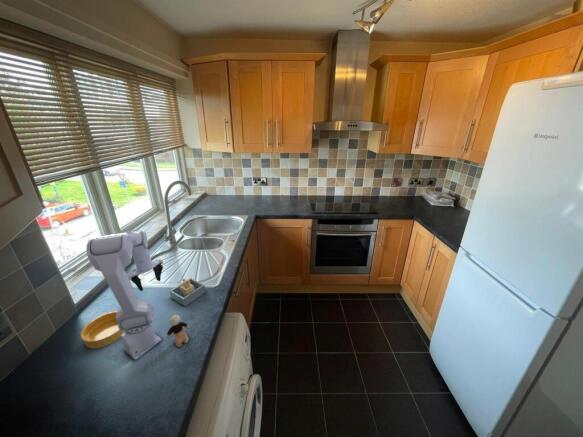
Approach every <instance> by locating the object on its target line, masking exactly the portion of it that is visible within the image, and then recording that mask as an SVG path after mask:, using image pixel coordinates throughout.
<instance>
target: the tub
mask: <svg viewBox="0 0 583 437" xmlns="http://www.w3.org/2000/svg"><path fill="white" fill-rule="evenodd" d="M187 280H189V281H190V284H192V285H194V289H195V291H194V292H192V293H191V294H189V295H188V296H186V297H185V296H183V295H182V294H181V290H180V287H181V286H182V283H180V284H179V285H177V286H175V287H173V288H172V289H170V290H169V294H170V298H171V299H172V300H174V301H176V302H177V303H178V304H181V305H182V306H184V307H186V306H188V305H190V304H191V303H192V302H193V301H195V300H197V299H198V298H200V296H202V295H203V294H205V293H206V292H207V290H206V285H205V284H203V283H201V282H199V281H198V280H196V279H194V278H191V277H189V279H187Z"/></svg>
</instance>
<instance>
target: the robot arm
mask: <svg viewBox="0 0 583 437" xmlns="http://www.w3.org/2000/svg"><path fill="white" fill-rule="evenodd" d="M86 256H87V258H88V260H89V262H90V264H91V265H92V267H93V268H94V270H95V271H98V272H101V274H102V276H103V277H104V280H105V281H106V283H107V285H108V287H109V288H110V291H111V292H112V294H113V295H114V297H115V299H116V301H117V303H118V304H119V306H120V307H119V308H118V309H117V310H116V311H117V314H116V321H117V325H118V328H119V329H120V330H121V331H124V330H125V332H124V333H123V334H122V335H121V336H120V338H119V340H120V341H121V344H122V346H123V350H124V351H125V352H126V353H127V354H128V355H129V356H130V357H132V359H134V360H138V359H139V358H140V357H142V356H143V355H145V354H146V353H147V352H148V351H149V350H151V349H152V348H153V347H155V346H156V345H157V344H158V343H160V342H161V341H162V338H161V337H160V336H158V335H157V334H156V333H155V330H154V326H153V322H154V320H155V309H154V307H153V306H152V305H151V304H150V303H149V301H146V300H140V299H139V298H138V295H137V293H136V291H135V289H134V287H133V284H134V285H135V286H136V288H137V289H138V290H139V291H140V292H143V291H144V287H143V285H142V279H141V278H140V277H139V276H140V275H142V274H146V273H148V272H150V271H151V270H152V272H153V274H154V276H155V280H156V281H157V282H161V279H162V278H161V276H162V272H163V269H164V266H163V264H164V260H163V259H161V258H158V259H155V260H152V259H151V255H150V251H149V243H148V235H147V233H146V231H143V230H139V231H136V230H135V229H126V230H125V231H123V232H121V233H114V234H107V235H102V236H97V237H95V238H90V239H89V240H88V242H87V243H86ZM132 258H133V262H134V265H135V268H134V269H133V270H132V271H130V272H129V273H127V272H126V270H125V268H126V267H128V266H129V265H131V263H132ZM131 281H132V282H131ZM132 283H133V284H132Z"/></svg>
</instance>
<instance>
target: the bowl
mask: <svg viewBox="0 0 583 437" xmlns="http://www.w3.org/2000/svg"><path fill="white" fill-rule="evenodd" d="M117 311H118V310H116V311H115V310H114V311H109V312H106V313H103V314H101V315H99V316H97V317H95V318H93V319H92V320H91V321H89V322H88V323H87V324H86V325H85V326H84V327H83V328H82V330H81V332H80V338H81V341H82V342H83V345H85V347H87V348H89V349H100V348H105V347H107V346H109V345H111V344H114V343H115V342H117V341H118V340H120V336H121V335H122V334H123V333H124V332H125V330H124V331H121V330H120V329H119V328H118V325H117V321H116V314H117Z"/></svg>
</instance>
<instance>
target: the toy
mask: <svg viewBox="0 0 583 437" xmlns="http://www.w3.org/2000/svg"><path fill="white" fill-rule="evenodd" d="M181 284H182V286H181V287H180V290H181V294H182V295H183V296H185V297H186V296H188V295H189V294H191V293H192V292H194V291H195V289H194V285H192V284H190V281H189V280H188V279H185V278H182V283H181Z"/></svg>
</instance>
